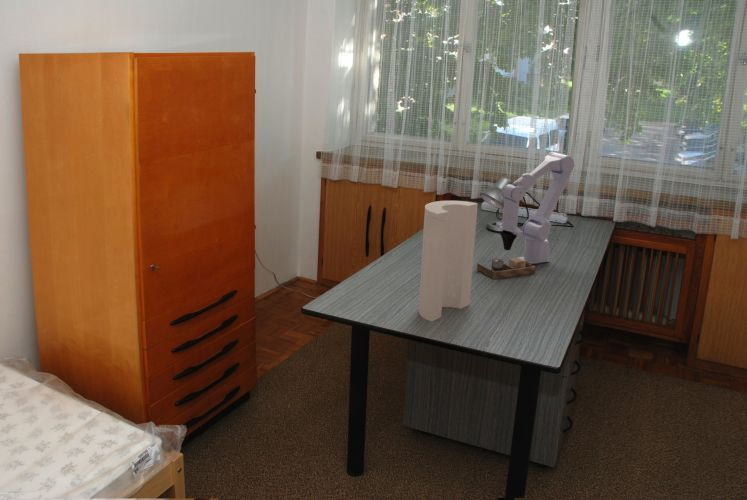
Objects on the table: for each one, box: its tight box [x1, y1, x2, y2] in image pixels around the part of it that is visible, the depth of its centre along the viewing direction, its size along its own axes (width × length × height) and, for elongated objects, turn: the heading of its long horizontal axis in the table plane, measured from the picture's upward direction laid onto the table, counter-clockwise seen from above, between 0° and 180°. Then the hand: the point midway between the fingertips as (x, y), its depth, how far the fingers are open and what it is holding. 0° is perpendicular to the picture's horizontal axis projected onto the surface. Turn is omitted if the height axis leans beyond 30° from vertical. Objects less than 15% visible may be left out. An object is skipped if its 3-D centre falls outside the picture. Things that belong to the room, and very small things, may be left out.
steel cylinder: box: [490, 258, 505, 272], centre depth 279 cm, size 4×4×5 cm
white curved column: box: [418, 200, 478, 323], centre depth 237 cm, size 35×11×21 cm
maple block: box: [507, 256, 527, 269], centre depth 282 cm, size 4×4×4 cm
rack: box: [476, 262, 536, 280], centre depth 281 cm, size 19×11×2 cm, turn 117°
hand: (507, 249), depth 287 cm, fingers closed
